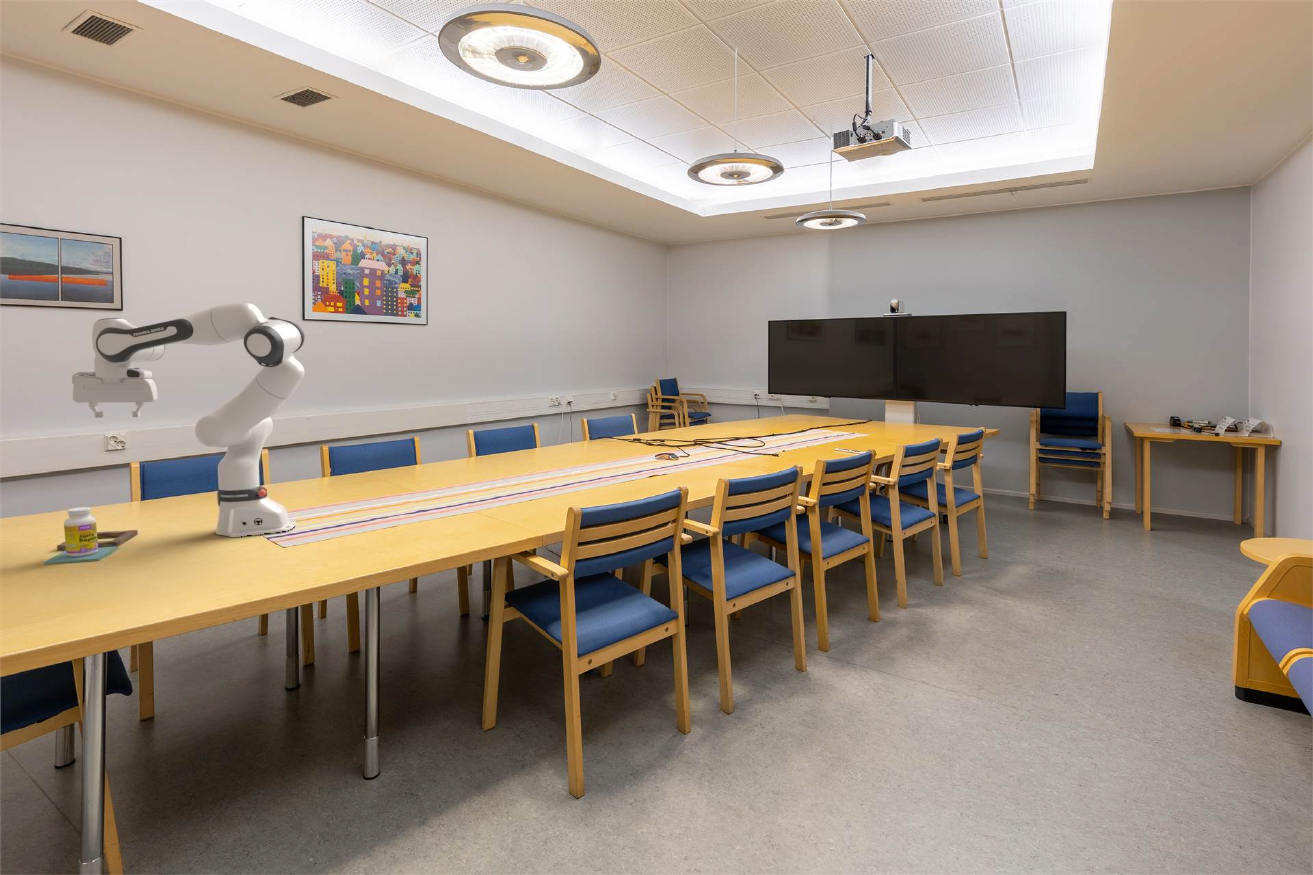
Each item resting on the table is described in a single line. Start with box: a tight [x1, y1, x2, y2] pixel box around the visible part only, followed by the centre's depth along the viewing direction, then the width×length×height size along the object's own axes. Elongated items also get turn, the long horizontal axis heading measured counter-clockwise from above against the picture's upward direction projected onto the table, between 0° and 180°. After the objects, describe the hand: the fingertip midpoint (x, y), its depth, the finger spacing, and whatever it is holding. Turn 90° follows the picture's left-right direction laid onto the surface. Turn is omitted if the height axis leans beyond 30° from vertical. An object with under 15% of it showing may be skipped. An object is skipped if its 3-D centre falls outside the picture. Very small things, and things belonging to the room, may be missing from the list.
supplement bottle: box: [63, 506, 99, 557], centre depth 177 cm, size 7×7×13 cm
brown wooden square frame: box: [56, 529, 139, 552], centre depth 191 cm, size 14×14×2 cm
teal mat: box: [42, 546, 120, 565], centre depth 178 cm, size 12×12×1 cm
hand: (117, 417), depth 195 cm, fingers open, 8 cm apart
